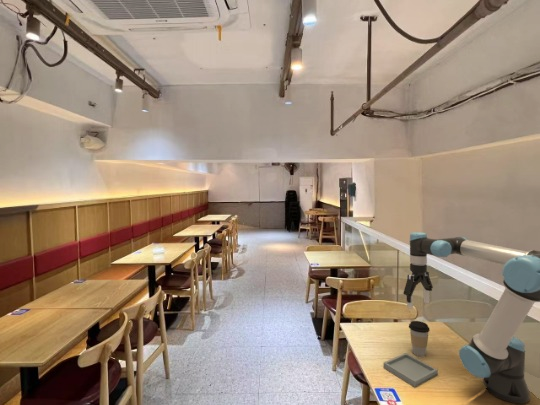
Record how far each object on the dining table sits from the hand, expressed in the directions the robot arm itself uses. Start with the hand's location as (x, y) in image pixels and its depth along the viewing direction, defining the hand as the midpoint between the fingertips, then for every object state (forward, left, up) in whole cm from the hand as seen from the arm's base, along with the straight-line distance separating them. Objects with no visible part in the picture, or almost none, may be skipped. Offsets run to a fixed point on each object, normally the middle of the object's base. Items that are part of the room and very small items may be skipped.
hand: (418, 305), depth 148 cm
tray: (-7, +17, -24) cm, 30 cm away
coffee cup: (0, 0, -25) cm, 25 cm away
